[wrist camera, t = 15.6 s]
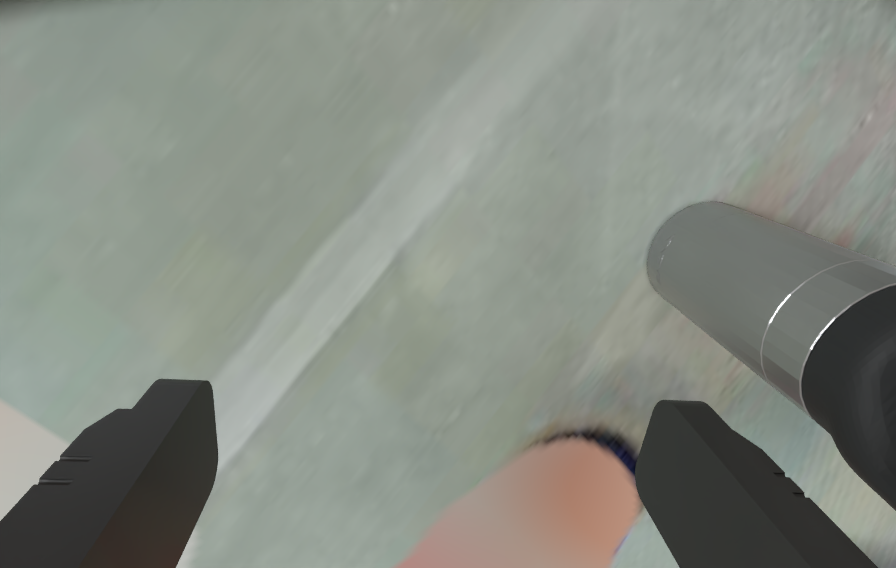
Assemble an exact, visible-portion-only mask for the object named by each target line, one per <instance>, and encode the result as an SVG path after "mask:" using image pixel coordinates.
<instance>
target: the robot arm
mask: <svg viewBox="0 0 896 568" xmlns="http://www.w3.org/2000/svg"><path fill="white" fill-rule="evenodd" d="M647 272H648V276H649V279H650V283H651V284H652V286H653V287H654V289H655V291H656V292H657V293H658V294H660V295H661V296H662V297H663V298H664V299H665V300H666V301H668V302H669V303H670V304H671V305H673V306H674V307H675V308H676V309H678V310H679V311H680V312H681V313H682V314H683V315H685V316H686V317H687V318H688V319H689V320H691V321H692V322H693V323H694V324H696V325H697V326H698V327H699V328H701V329H702V330H703V331H704V332H706V333H707V334H708V335H709V336H710V337H712V338H713V339H714V340H715V341H717V342H718V343H719V344H720V345H722V346H723V347H724V348H725V349H726V350H728V351H729V352H730V353H731V354H733V355H734V356H735V357H736V358H738V359H739V360H740V361H741V362H743V363H744V364H745V365H746V366H747V367H749V368H750V369H751V370H752V371H754V372H755V373H756V374H757V375H759V376H760V377H761V378H762V379H763V380H765V381H766V382H767V383H768V384H770V385H771V386H772V387H773V388H775V389H776V390H777V391H779V392H780V393H781V394H782V395H784V396H785V397H786V398H787V399H789V400H790V401H791V402H792V403H793V404H795V405H796V406H797V407H798V408H800V409H801V410H802V411H803V412H805V413H806V414H807V415H808V416H809V417H811V418H812V419H813V420H815V421H816V422H817V423H818V424H819V425H820V426H822V427H823V428H824V429H825V430H826V431H827V432H829V433H830V434H831V436H832V438H833V440H834V442H835V444H836V446H837V448H838V450H839V452H840V454H841V455H842V457H843V458H844V460H845V461H846V462H847V463H848V465H849V466H850V467H851V468H852V469H853V471H854V472H855V473H856V474H857V475H858V476H859V477H860V478H861V479H862V480H863V481H864V482H865V483H867V484H868V485H869V486H870V487H871V488H872V489H873V490H874V491H875V492H876V493H877V494H878V495H880V496H881V497H882V498H883V499H884V500H885V501H886V502H887V503H888V504H889V505H890V506H891V507H892V508H893V509H895V510H896V266H894V265H891V264H889V263H885V262H882V261H880V260H877V259H874V258H872V257H869V256H866V255H864V254H861V253H858V252H855V251H853V250H850V249H847V248H845V247H842V246H839V245H836V244H834V243H831V242H828V241H826V240H823V239H820V238H817V237H815V236H812V235H809V234H807V233H804V232H801V231H798V230H796V229H793V228H790V227H788V226H785V225H782V224H780V223H777V222H774V221H771V220H769V219H766V218H763V217H761V216H759V215H756V214H753V213H750V212H747V211H745V210H742V209H739V208H736V207H733V206H731V205H728V204H725V203H721V202H703V203H698V204H695V205H692V206H689V207H687V208H685V209H683V210H682V211H680V212H678V213H677V214H675V215H674V216H673V217H672V218H670V219H669V220H668V221H667V222H666V223H665V224H664V225H663V226H662V228H661V229H660V230H659V231H658V233H657V235H656V236H655V238H654V240H653V242H652V244H651V247H650V250H649V253H648V259H647ZM217 465H218V446H217V434H216V423H215V411H214V399H213V390H212V386H211V384H210V382H209V381H203V380H177V379H158V380H157V381H155V382H154V383H153V384H152V385H151V387H150V388H149V389H148V390H147V392H146V393H145V394H144V395H143V396H142V398H141V399H140V400H139V401H138V402H137V404H136V405H135V406H134V407H133V408H132V409H117V410H115V411H113V412H112V413H110V414H109V415H107V416H105V417H104V418H102V419H101V420H99V421H97V422H96V423H94V424H93V425H91V426H89V427H88V428H86V429H84V430H83V432H82V433H81V434H80V435H79V436H78V437H77V438H76V439H75V440H74V441H73V442H72V444H71V445H70V446H69V447H68V448H67V449H66V450H65V451H64V452H63V454H61V456H60V460H59V461H55V462H54V463H53V464H52V465H51V467H50V468H49V469H48V470H47V471H46V472H45V473H44V474H43V475H42V476H41V477H40V480H39V484H38V485H33V486H32V487H31V488H30V489H29V491H28V492H27V493H26V494H25V495H24V496H23V497H22V498H21V499H20V500H19V502H18V503H17V504H16V505H15V506H14V507H13V508H12V509H11V510H10V511H9V512H8V513H7V515H6V516H5V517H4V518H3V519H2V520H1V521H0V568H176V566H177V564H178V561H179V559H180V557H181V555H182V553H183V551H184V549H185V546H186V544H187V542H188V540H189V538H190V536H191V534H192V532H193V529H194V527H195V525H196V523H197V521H198V519H199V517H200V514H201V512H202V510H203V508H204V506H205V504H206V501H207V499H208V497H209V495H210V493H211V490H212V488H213V485H214V481H215V477H216V472H217ZM635 480H636V486H637V490H638V494H639V496H640V499H641V501H642V502H643V504H644V506H645V508H646V509H647V511H648V513H649V515H650V516H651V518H652V520H653V522H654V523H655V525H656V527H657V529H658V530H659V532H660V534H661V536H662V537H663V539H664V541H665V543H666V544H667V546H668V548H669V550H670V551H671V553H672V555H673V556H674V558H675V560H676V562H677V563H678V565H679V567H680V568H878V567H877V566H876V565H875V564H874V563H873V562H872V561H871V560H870V559H869V558H868V557H867V556H866V555H865V554H864V553H863V552H862V551H861V550H860V549H859V548H858V547H857V546H856V545H855V544H854V543H853V542H852V541H851V540H850V539H849V538H848V537H847V536H846V535H845V534H844V533H843V532H842V530H841V529H840V528H839V527H838V526H837V525H836V524H835V523H834V522H833V521H832V520H831V519H830V518H829V517H828V516H827V515H826V514H825V513H824V512H823V511H822V510H821V509H820V508H819V507H818V506H817V505H816V504H815V503H814V502H813V501H812V500H811V499H810V498H805V496H804V492H803V491H802V490H801V489H800V488H799V487H798V486H797V485H796V484H795V483H794V482H793V481H792V480H791V479H790V478H788V477H785V472H784V471H783V470H782V469H781V468H780V467H779V466H778V465H777V464H776V463H775V462H774V461H773V460H772V459H771V458H770V457H769V456H768V455H767V454H766V453H765V452H764V451H763V450H762V449H760V448H759V447H757V446H756V445H754V444H753V443H751V442H750V441H749V440H747V439H746V438H744V437H743V436H741V435H740V434H738V433H737V432H735V431H734V430H732V429H731V428H730V427H729V426H728V425H727V424H726V423H725V422H724V421H723V420H722V419H721V418H720V416H719V415H718V414H717V413H716V412H715V411H714V410H713V409H712V408H711V407H710V406H709V405H708V404H706V403H704V402H701V401H678V400H661V401H659V402H658V403H657V404H656V406H655V407H654V410H653V412H652V416H651V419H650V422H649V425H648V428H647V431H646V435H645V438H644V441H643V444H642V447H641V450H640V454H639V457H638V460H637V463H636V469H635Z"/></svg>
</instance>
